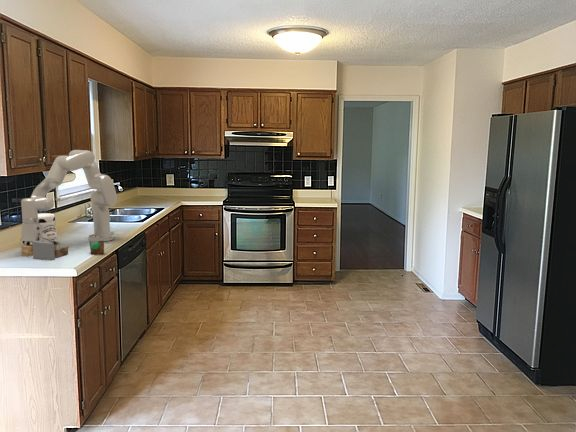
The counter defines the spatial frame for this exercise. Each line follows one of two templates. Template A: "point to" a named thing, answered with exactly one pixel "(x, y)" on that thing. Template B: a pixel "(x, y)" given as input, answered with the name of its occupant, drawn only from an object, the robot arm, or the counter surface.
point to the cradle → (60, 251)
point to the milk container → (48, 227)
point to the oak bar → (27, 250)
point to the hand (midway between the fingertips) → (32, 253)
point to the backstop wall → (43, 250)
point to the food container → (96, 244)
